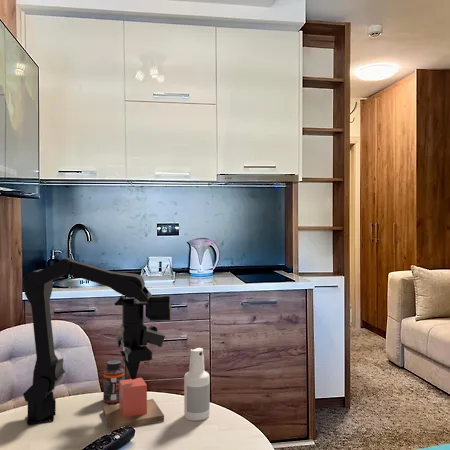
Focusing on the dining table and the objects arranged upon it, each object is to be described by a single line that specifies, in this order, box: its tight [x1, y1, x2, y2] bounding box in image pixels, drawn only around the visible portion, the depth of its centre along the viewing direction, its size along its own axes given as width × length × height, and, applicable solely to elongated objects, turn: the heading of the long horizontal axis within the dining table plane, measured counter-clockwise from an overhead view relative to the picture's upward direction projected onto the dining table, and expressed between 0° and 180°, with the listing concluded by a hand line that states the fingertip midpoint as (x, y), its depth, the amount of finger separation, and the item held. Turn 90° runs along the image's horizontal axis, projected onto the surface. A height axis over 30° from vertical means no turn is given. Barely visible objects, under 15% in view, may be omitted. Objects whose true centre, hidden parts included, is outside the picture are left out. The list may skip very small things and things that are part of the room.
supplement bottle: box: [102, 359, 125, 404], centre depth 130 cm, size 6×6×11 cm
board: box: [102, 398, 165, 431], centre depth 119 cm, size 14×12×2 cm
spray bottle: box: [183, 347, 211, 422], centre depth 119 cm, size 7×7×18 cm
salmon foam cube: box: [118, 377, 148, 417], centre depth 119 cm, size 6×6×8 cm
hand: (133, 379), depth 119 cm, fingers closed
